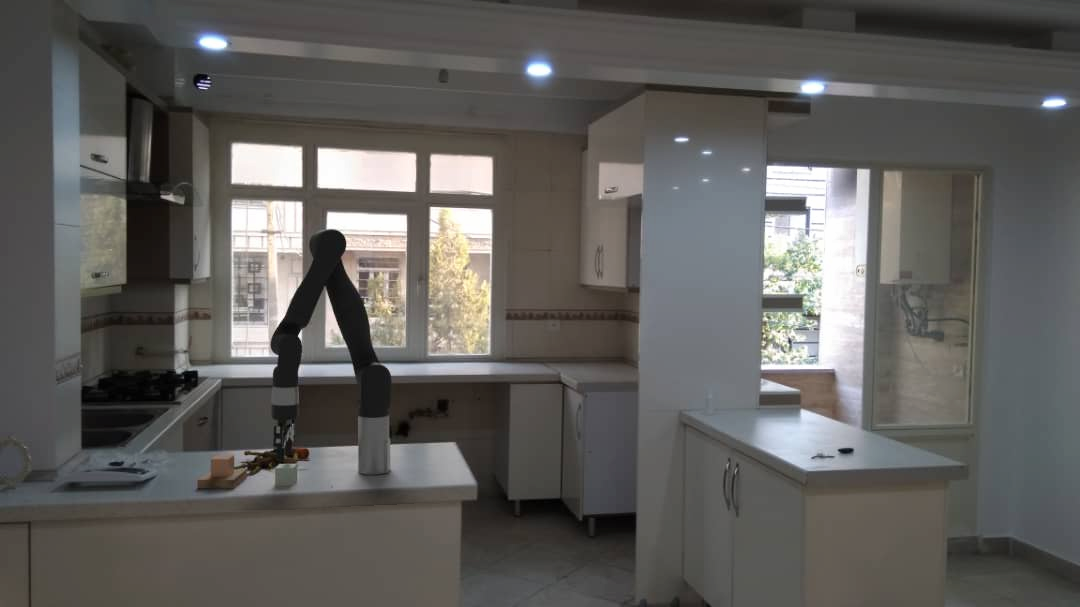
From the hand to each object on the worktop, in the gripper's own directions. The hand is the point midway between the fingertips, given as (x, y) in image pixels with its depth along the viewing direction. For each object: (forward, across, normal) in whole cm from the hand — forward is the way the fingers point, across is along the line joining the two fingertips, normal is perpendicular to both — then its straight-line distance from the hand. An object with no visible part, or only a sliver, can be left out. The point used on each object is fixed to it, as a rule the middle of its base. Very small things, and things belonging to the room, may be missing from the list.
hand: (284, 458), depth 242 cm
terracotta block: (+5, 0, +17) cm, 18 cm away
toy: (+8, +21, +11) cm, 25 cm away
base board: (+8, 0, +17) cm, 19 cm away
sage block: (+7, 0, -1) cm, 7 cm away
